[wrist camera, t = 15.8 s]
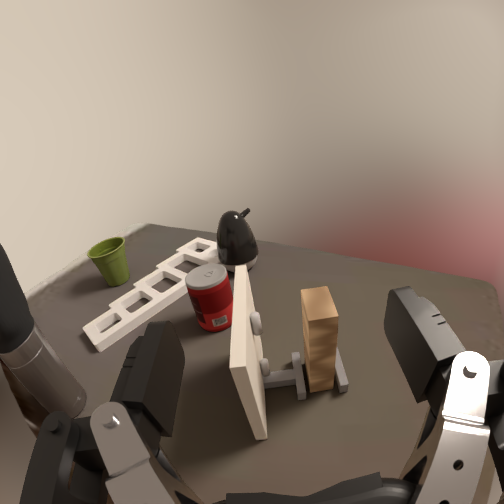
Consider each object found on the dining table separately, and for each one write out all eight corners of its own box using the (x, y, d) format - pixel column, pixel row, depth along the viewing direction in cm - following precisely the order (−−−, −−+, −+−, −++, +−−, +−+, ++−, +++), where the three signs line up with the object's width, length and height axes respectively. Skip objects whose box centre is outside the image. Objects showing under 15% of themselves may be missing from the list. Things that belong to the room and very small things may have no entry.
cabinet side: (256, 440, 32) (229, 367, 24) (253, 348, 48) (235, 266, 40) (356, 424, 31) (377, 344, 23) (331, 336, 47) (331, 252, 39)
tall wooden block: (310, 392, 38) (308, 321, 31) (304, 363, 43) (300, 290, 36) (333, 388, 38) (338, 315, 31) (325, 359, 43) (327, 286, 36)
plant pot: (94, 291, 73) (79, 257, 68) (115, 269, 83) (103, 238, 78) (123, 293, 70) (108, 256, 65) (144, 269, 80) (132, 235, 75)
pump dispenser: (269, 266, 72) (260, 208, 65) (233, 283, 67) (220, 223, 60) (247, 252, 80) (238, 200, 73) (214, 267, 75) (201, 213, 68)
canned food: (244, 311, 58) (234, 265, 52) (223, 337, 52) (209, 290, 47) (213, 304, 61) (201, 260, 56) (192, 327, 55) (176, 282, 50)
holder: (100, 354, 51) (95, 345, 50) (77, 320, 62) (72, 312, 61) (240, 257, 79) (239, 248, 78) (199, 245, 90) (197, 237, 89)
